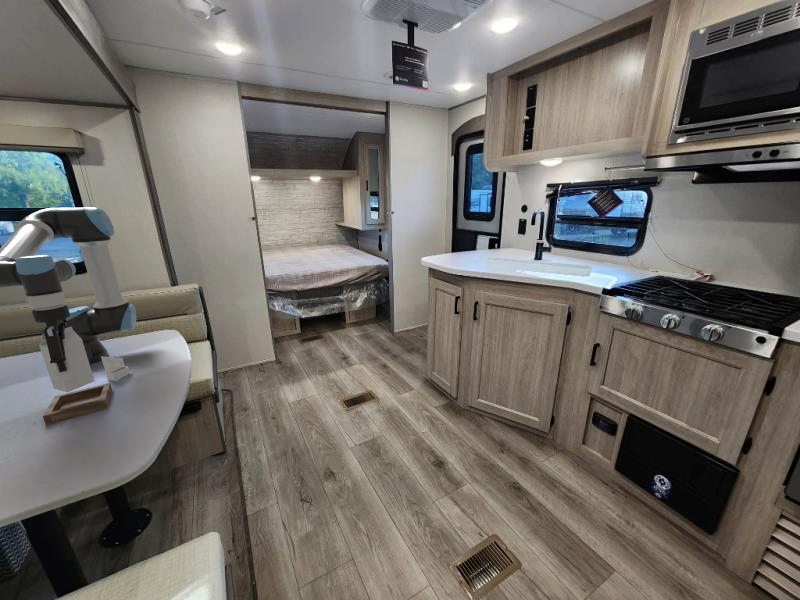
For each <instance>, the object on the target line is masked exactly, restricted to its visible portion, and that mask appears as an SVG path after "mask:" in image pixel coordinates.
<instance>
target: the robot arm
mask: <svg viewBox="0 0 800 600" xmlns="http://www.w3.org/2000/svg"><path fill="white" fill-rule="evenodd" d="M114 235H115V231H114V226H113V223H112V220H111V219H110V217H109V215H108V214H107V213H106V211H105V210H104V209H101V208H100V207H89V206H84V207H83V206H82V207H49V208H44V209H40V210H38V211H35V212H32V213H30V214H29V215H27V216H25V217H24V218H22V220H20V221H19V222H17V224H16V226H15V232H14V233H13V234H12V235H11V236H10V237H9V238H8V239H7V240H6V242H5V243H4V244H2V246H1V247H0V289H2V288H10V287H12V288H13V287H21V286H22V287H23V290H24V293H25V295H26V298H25V302H27V303H28V304H29V307H30V309H32V311H31V313H32V317H33V319H34V321H35V322H36V323H41V324H42V323H43V324H45V326H46V327H44V330H43V332H42V334H44V335H45V338H46V342H47V346H48V350H49V355H50V359H51V361H50V363H55V366H56V369H57V372H58V374H59V377H60V380H61V382H63V381H68V380H72V379H74V377H73V374H72V371H71V368H70V365H69V362H68V359H66V356H65V349H64V343H63V339H65V334H64V331H65V328H68V327H72V329H73V331H74V332H75V333H76V334H77V335H78V336H79V337H80V338H81V339H82V341H83V345H84V348H85V351H86V354H87V358H88V361H89V364H93V363H95V362H99V361H102V359H101V356H103V357H109V352H108V349H107V348H106V347H105V346H104V345H103V343H102V342H101V341H100V339H99V337H98V336H100V335H108V334H114V333H123V332H126V331H131V330H133V329H134V328H135V327H136V324H137V310H136V309H137V308H136V307H135V305H134V304H131V303H130V304H129V300H128V299H126V298H124V297H123V295H122V292H121V287H120V284H119V281H118V277H117V274H116V270H115V266H114V263H113V260H112V256H111V253H110V249H109V246H108V245H109V243H110V241H111V240H112V239H111V237H112V236H114ZM63 238H64V239H69V238H70V239H71V240H72V243H73V244H75V245H77V246H78V247H79V248H80V252H81V255H82V260H83V262H84V265H85V268H86V272H87V274H88V277H89V281H90V283H91V288H92V291H93V294H94V297H95V300H96V302H95V303H94V304H93V305H92V306H93V307H92V308H91V307H90V306H88V305H85V306H84V305H83V306H78V307H73V308H70V309H69V306H68V305H66V304H67V303H68V302H67V299H66V297H65V293H64V290H63V288H62V283H63V282H66V281H69V280H70V279H72V278H73V277H74V276H75V275H76V272H77V269H76V266H75V265H74V263H73V262H71V260H69V259H66V258H63V257H62V258H60V257H55V258H53V257H52V256H50V255H47V254H40V255H39V254H38V252H39V251H40V250H41V249H42V248H43V246H44V245H45V244H47V243H50V242H51V241H53V240H55V239H63ZM90 308H91V309H90ZM56 357H59V358H56Z"/></svg>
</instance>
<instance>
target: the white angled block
mask: <svg viewBox="0 0 800 600" xmlns="http://www.w3.org/2000/svg"><path fill="white" fill-rule="evenodd" d="M101 361H102V365H103V368H104V371H105V375H106V378H107V381H110V380H113V381H112V382H116V380H117V381H118V379H119V380H120V378H121V379H123V378H125V377H127V376H129V375H131V371H130V370H131V369H130V366H125V361H124V358H123V357H114V356H107V357H103V356H101ZM128 374H129V375H128ZM126 375H127V376H126ZM124 376H125V377H124ZM122 377H123V378H122Z"/></svg>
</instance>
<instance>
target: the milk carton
mask: <svg viewBox="0 0 800 600" xmlns="http://www.w3.org/2000/svg"><path fill="white" fill-rule="evenodd" d="M64 334H65V339H63V343H64V349H65V356H66V359H68V362H69V365H70V368H71V371H72V374H73V377H74V379H72V380H68V381H63V382H61V380H60V377H59V374H58V372H57V369H56V366H55V363H50V361H51V359H50V355H49V350H48V346H47V342H46V338H45V335H44V333H42V334H41V337H42V338H41V340H40V343H39V349H40V352H41V355H42V357H43V360H44V361H43V362H44V364H45V367H46V370H47V372H48V375H49V378H50V381H51V384H52V387H53V389H54V390H58V391H62V392H66V393H70V392H73V391H74V390H77V389H79V388H81V387H83V386H86V385H90V384H91V383H94V382H95V378H94V375H93V370H92V368H91V365H90V364H91V363H90V364H89V361H88V358H87V354H86V351H85V348H84V345H83V341H82V339H81V338H80V337H79V336H78V335H77V334H76V333H75V332H74V331H73V329H72V327H68V328H65V331H64ZM56 358H59V357H56Z"/></svg>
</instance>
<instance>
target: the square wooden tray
mask: <svg viewBox="0 0 800 600" xmlns="http://www.w3.org/2000/svg"><path fill="white" fill-rule="evenodd" d="M112 393H113V388H112V385H111V382H108V383H103V384H100V385H96V386H91V387H88V388H83V389H79V390H75V391H74V390H73V391H69V392H66V393H63V394H59V395H58V394H57V395H55V396H54V397H53V399H52V401H51V402H50V403H49V405H48V407H47V408H46V410H45V412H44V413H43V415H42V418H43V419H42V420H43V421H44V425H45V426H48V425H52V424H56V423H59V422H63V421H67V420H69V419H74V418H78V417H80V416H85V415H88V414H92V413H96V412H99V411H104V410H106V409H108V408H109V404H110V400H111V397H112Z"/></svg>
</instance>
